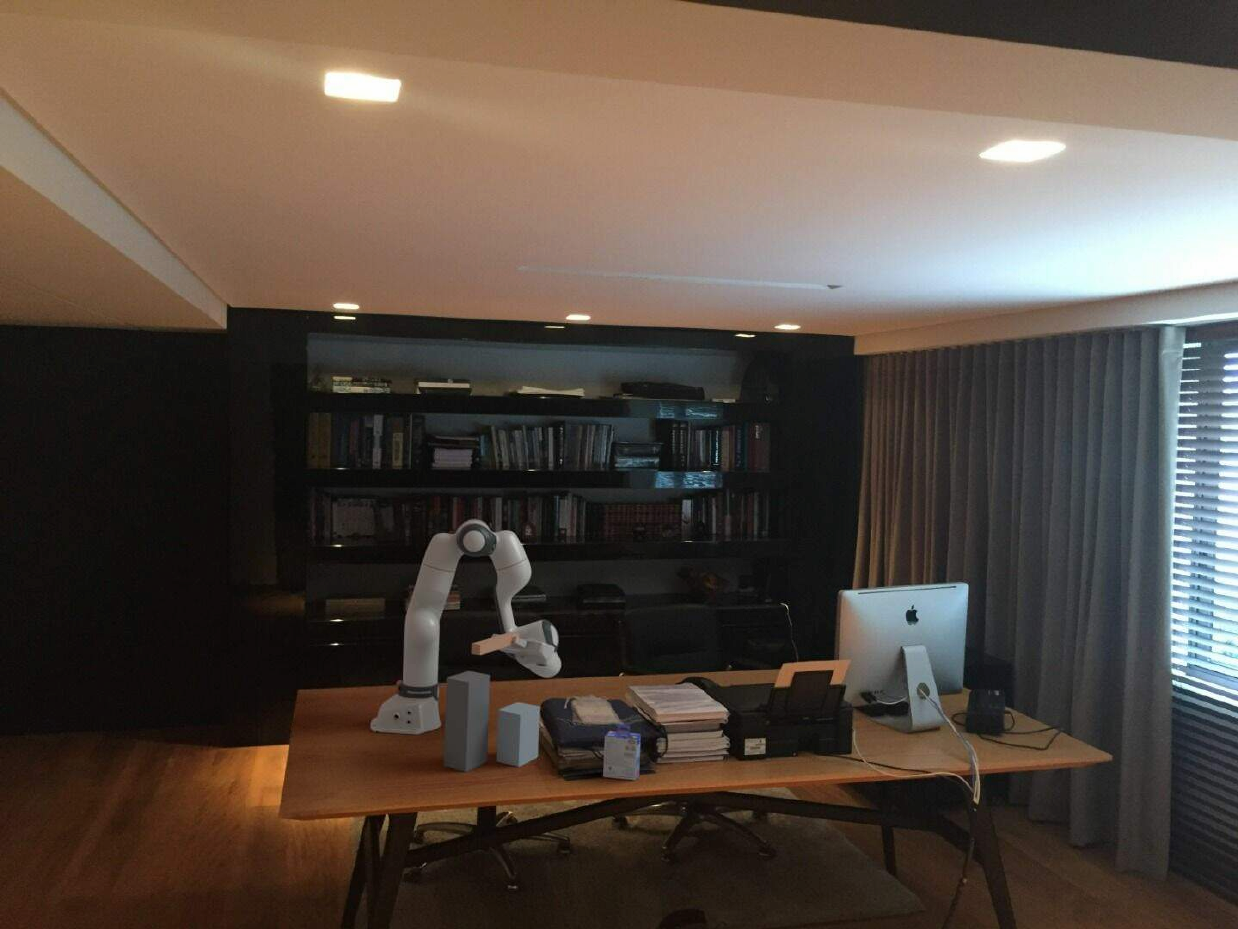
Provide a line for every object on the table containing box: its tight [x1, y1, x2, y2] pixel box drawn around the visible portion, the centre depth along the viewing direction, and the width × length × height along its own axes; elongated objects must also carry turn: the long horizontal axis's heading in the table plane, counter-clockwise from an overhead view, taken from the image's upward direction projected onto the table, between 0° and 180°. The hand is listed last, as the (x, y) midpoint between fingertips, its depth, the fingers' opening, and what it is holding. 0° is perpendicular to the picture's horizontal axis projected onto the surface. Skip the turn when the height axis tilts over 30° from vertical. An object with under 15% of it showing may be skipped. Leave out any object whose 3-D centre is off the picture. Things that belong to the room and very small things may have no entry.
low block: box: [496, 701, 541, 768], centre depth 295 cm, size 10×8×16 cm
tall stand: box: [443, 670, 491, 773], centre depth 289 cm, size 10×8×26 cm
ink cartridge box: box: [602, 724, 642, 781], centre depth 285 cm, size 10×6×14 cm, turn 78°
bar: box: [471, 632, 519, 656], centre depth 300 cm, size 20×3×3 cm, turn 151°
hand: (508, 638), depth 305 cm, fingers closed on bar, 3 cm apart
